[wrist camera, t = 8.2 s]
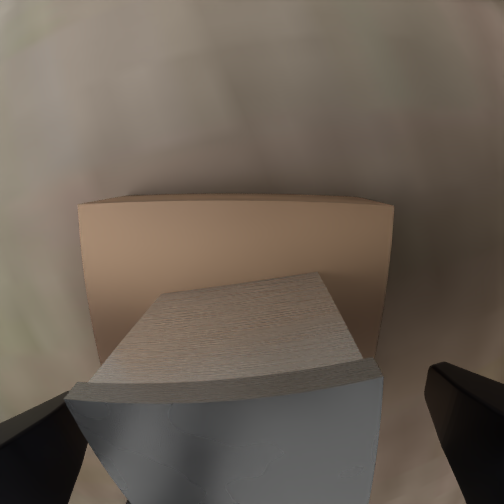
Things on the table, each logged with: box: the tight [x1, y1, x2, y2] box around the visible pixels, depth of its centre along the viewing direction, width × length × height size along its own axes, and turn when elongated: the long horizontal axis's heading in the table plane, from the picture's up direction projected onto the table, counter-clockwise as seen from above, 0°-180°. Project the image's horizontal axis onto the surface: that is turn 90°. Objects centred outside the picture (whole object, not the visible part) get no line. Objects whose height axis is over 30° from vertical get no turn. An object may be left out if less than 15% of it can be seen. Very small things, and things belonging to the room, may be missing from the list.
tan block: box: [78, 194, 394, 366], centre depth 11 cm, size 9×9×4 cm
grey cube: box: [64, 272, 384, 504], centre depth 7 cm, size 5×5×5 cm
